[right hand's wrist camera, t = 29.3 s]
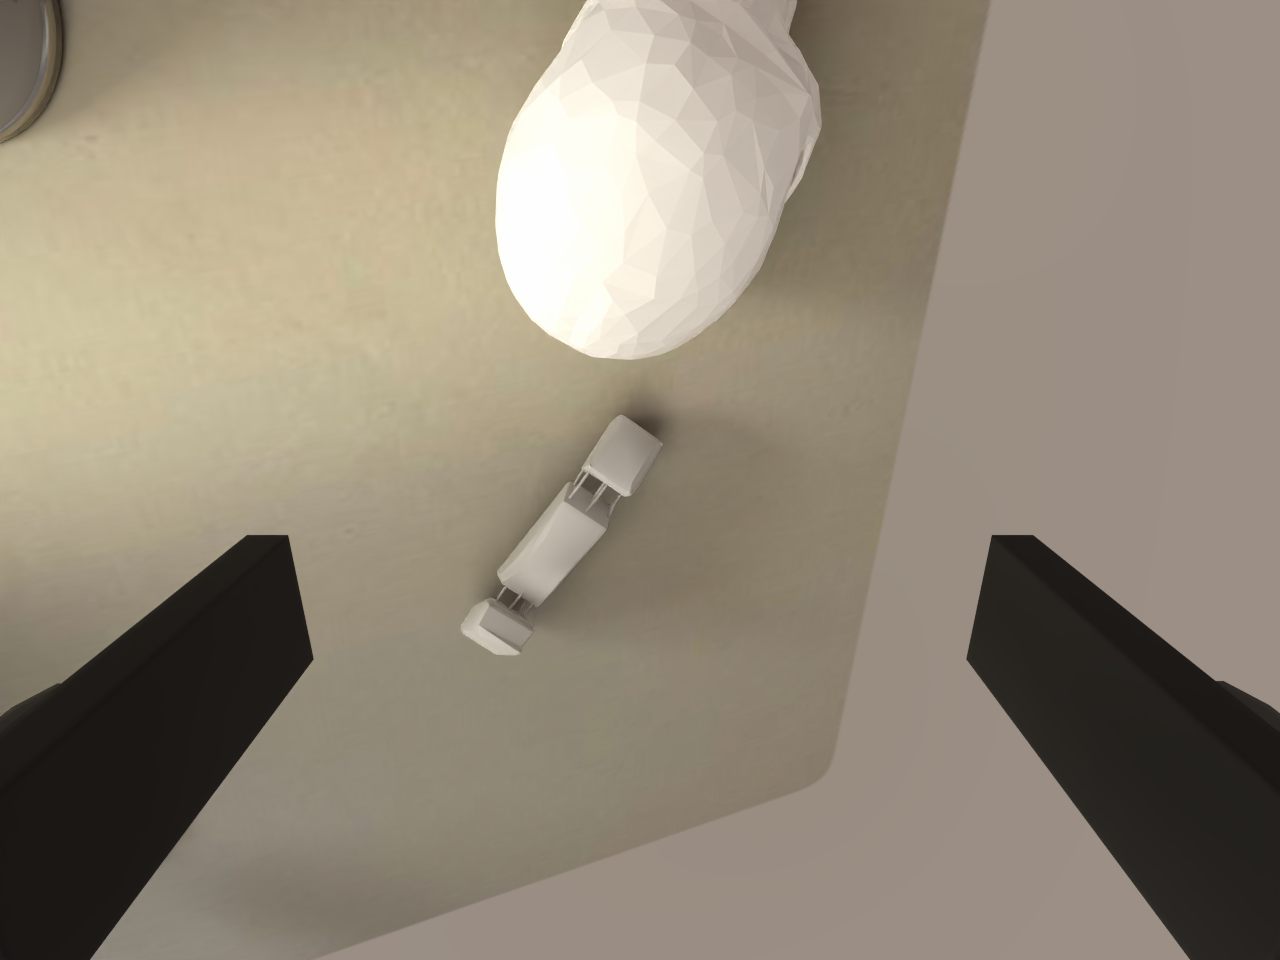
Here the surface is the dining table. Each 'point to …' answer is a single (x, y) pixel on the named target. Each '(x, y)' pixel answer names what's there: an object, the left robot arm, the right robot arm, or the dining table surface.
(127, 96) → the dining table surface
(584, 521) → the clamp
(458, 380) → the dining table surface
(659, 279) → the skull
